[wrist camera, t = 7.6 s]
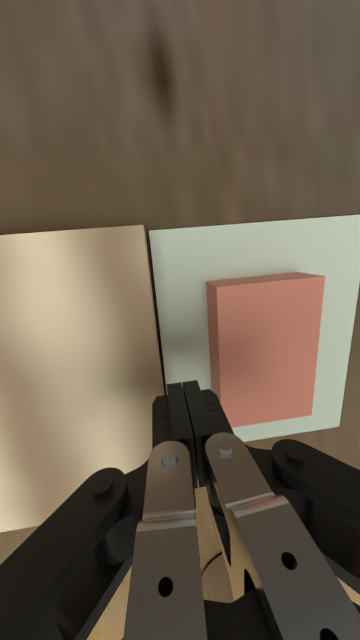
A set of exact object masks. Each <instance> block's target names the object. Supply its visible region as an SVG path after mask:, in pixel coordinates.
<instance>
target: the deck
mask: <svg viewBox="0 0 360 640" xmlns="http://www.w3.org/2000/svg"><path fill="white" fill-rule="evenodd" d="M163 395H164V388H163V380H162V371H161V362H160V354H159V345H158V336H157V327H156V319H155V310H154V301H153V293H152V284H151V275H150V267H149V258H148V249H147V240H146V232H145V228H144V225H132V226H118V227H105V228H91V229H78V230H64V231H51V232H37V233H24V234H10V235H0V532H5V531H11V530H16V529H22V528H28V527H33V526H39V525H41V524H42V523H43V522H44V521H45V520H46V519H47V518H48V517H49V516H50V515H51V514H52V513H53V512H54V511H55V510H56V509H57V508H58V507H59V506H60V505H61V504H62V503H63V502H64V501H65V500H66V499H67V498H68V497H69V496H70V495H71V494H72V493H73V492H74V491H75V490H76V489H77V488H78V487H79V486H80V485H81V484H82V483H83V482H84V481H85V480H86V479H87V478H89V477H90V476H91V475H92V474H93V473H95V472H97V471H99V470H101V469H104V468H109V467H113V468H118V469H120V470H121V471H122V472H123V473H124V474H126V473H128V472H131V471H133V470H135V469H137V468H138V467H140V466H141V465H143V464H144V463H145V462H146V461H147V460H148V458H149V455H150V453H151V451H152V403H153V402H154V400H155V398H156V396H163Z"/></svg>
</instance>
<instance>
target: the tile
mask: <svg viewBox="0 0 360 640" xmlns="http://www.w3.org/2000/svg"><path fill="white" fill-rule="evenodd" d="M324 284H325V276H321V275H314V274H308V273H301V272H293V273H282V274H272V275H262V276H252V277H242V278H231V279H221V280H211V281H206V290H207V311H208V331H209V352H210V373H211V391H213V392H214V393H215V394H216V395H217V397H218V399H219V401H220V404H221V406H222V408H223V410H224V412H225V415H226V417H227V419H228V421H229V423H230V426H231V428H233V427H240V426H246V425H253V424H259V423H266V422H272V421H279V420H285V419H292V418H298V417H304V416H311V415H312V406H313V396H314V386H315V376H316V365H317V355H318V345H319V335H320V325H321V314H322V304H323V294H324Z"/></svg>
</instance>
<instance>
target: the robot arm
mask: <svg viewBox="0 0 360 640" xmlns="http://www.w3.org/2000/svg"><path fill="white" fill-rule="evenodd" d="M166 385H167V394H168V395H163V396H156V398H155V400H154V402H153V403H152V451H151V453H150V455H149V458H148V460H147V461H146V462H145V463H144V464H143V465H141V466H140V467H138V468H137V469H135V470H133V471H131V472H128V473H126V474H124V473H123V472H122V471H121V470H120V469H118V468H113V467H109V468H104V469H101V470H99V471H97V472H95V473H93V474H92V475H91V476H90V477H89V478H87V479H86V480H85V481H84V482H83V483H82V484H81V485H80V486H79V487H78V488H77V489H76V490H75V491H74V492H73V493H72V494H71V495H70V496H69V497H68V498H67V499H66V500H65V501H64V502H63V503H62V504H61V505H60V506H59V507H58V508H57V509H56V510H55V511H54V512H53V513H52V514H51V515H50V516H49V517H48V518H47V519H46V520H45V521H44V522H43V523H42V524H41V525H40V526H39V527H38V528H37V529H36V530H35V531H34V532H33V533H32V534H31V535H30V536H29V537H28V538H27V539H26V540H25V541H24V542H23V543H22V544H21V545H20V546H19V547H18V548H17V549H16V550H15V551H14V552H13V553H12V554H11V555H10V556H9V557H8V558H7V559H6V560H5V561H4V562H3V563H2V564H1V565H0V640H86V639H87V638H88V636H89V635H90V633H91V631H92V630H93V628H94V626H95V625H96V623H97V621H98V620H99V618H100V616H101V615H102V613H103V612H104V610H105V608H106V607H107V605H108V603H109V602H110V600H111V598H112V597H113V595H114V593H115V592H116V590H117V589H118V587H119V585H120V584H121V582H122V580H123V579H124V577H125V575H126V574H127V572H128V570H129V569H130V567H131V565H132V570H131V579H130V587H129V596H128V604H127V612H126V621H125V629H124V638H123V639H122V640H360V606H359V605H357V604H356V603H354V602H352V601H351V599H350V598H349V596H348V595H347V593H346V591H345V590H344V588H343V587H342V585H341V583H340V582H339V580H338V579H337V577H338V578H339V579H340V580H342V581H343V582H344V583H346V584H347V585H348V586H349V587H351V588H352V589H353V590H354V591H356V592H357V593H358V594H360V470H358V469H356V468H354V467H352V466H349V465H347V464H345V463H343V462H341V461H339V460H337V459H335V458H333V457H331V456H329V455H327V454H325V453H323V452H321V451H318V450H316V449H314V448H312V447H310V446H308V445H306V444H304V443H302V442H299V441H296V440H292V439H284V440H280V441H278V442H276V443H275V444H274V446H273V448H272V450H264V449H257V448H252V447H249V446H247V445H245V444H244V442H243V441H242V440H241V439H240V438H239V437H238V436H236V435H235V434H234V432H233V430H232V428H231V426H230V423H229V421H228V419H227V417H226V415H225V412H224V410H223V408H222V406H221V404H220V401H219V399H218V397H217V395H216V394H215V393H214V392H213V391H211V390H210V389H205V390H200V387H199V384H198V381H197V380H193V381H186V382H182V384H181V382H179V383H171V384H166ZM197 478H198V483H199V487H205V486H206V489H207V493H208V501H209V510H210V514H211V517H212V520H213V524H214V527H215V530H216V534H217V537H218V540H219V544H220V547H221V550H222V554H221V555H220V556H219V557H217V558H216V559H214V560H213V561H212V562H211V563H210V564H209V565H208V567H207V568H206V569H205V571H204V572H203V575H202V578H201V568H200V557H199V547H198V536H197V526H196V516H195V508H196V500H195V489H194V488H198V485H197ZM336 576H337V577H336Z"/></svg>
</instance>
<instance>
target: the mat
mask: <svg viewBox="0 0 360 640" xmlns="http://www.w3.org/2000/svg"><path fill="white" fill-rule="evenodd" d="M149 237H150V246H151V255H152V264H153V273H154V282H155V291H156V300H157V309H158V318H159V327H160V336H161V345H162V354H163V363H164V372H165V381H166V384H171V383H179V382H181V384H182V382H186V381H193V380H197V381H198V384H199V387H200V390H205V389H210V390H211V373H210V352H209V331H208V311H207V290H206V281H211V280H221V279H231V278H242V277H252V276H262V275H272V274H282V273H293V272H301V273H308V274H314V275H321V276H325V284H324V294H323V304H322V314H321V325H320V335H319V345H318V355H317V365H316V376H315V386H314V396H313V406H312V415H311V416H304V417H298V418H292V419H285V420H279V421H272V422H266V423H259V424H253V425H246V426H240V427H233V428H232V430H233V432H234V434H235V435H236V436H238V437H239V438H240V439H241V440H242V441H243V442H246V441H252V440H259V439H265V438H271V437H277V436H284V435H290V434H296V433H302V432H309V431H315V430H321V429H327V428H334V427H339V424H340V417H341V410H342V403H343V396H344V389H345V382H346V374H347V367H348V360H349V353H350V346H351V339H352V332H353V325H354V318H355V311H356V304H357V297H358V290H359V283H360V215H348V216H335V217H322V218H309V219H296V220H283V221H270V222H257V223H244V224H231V225H217V226H204V227H191V228H178V229H165V230H152V231H149ZM166 390H167V385H166ZM167 395H168V394H167Z"/></svg>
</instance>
